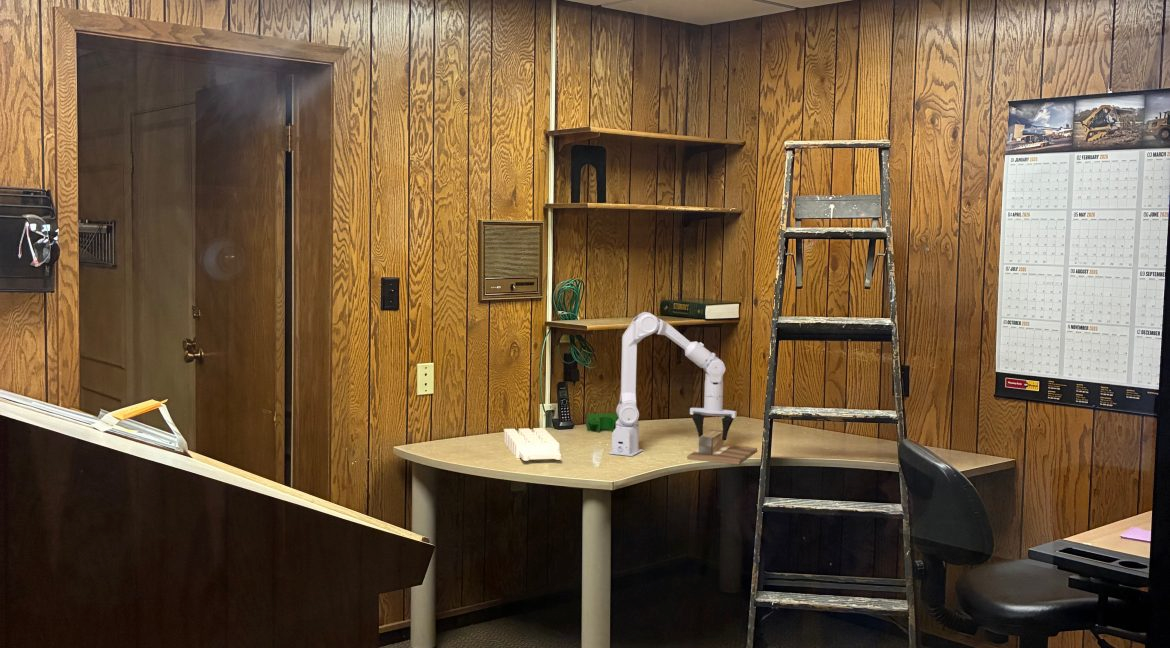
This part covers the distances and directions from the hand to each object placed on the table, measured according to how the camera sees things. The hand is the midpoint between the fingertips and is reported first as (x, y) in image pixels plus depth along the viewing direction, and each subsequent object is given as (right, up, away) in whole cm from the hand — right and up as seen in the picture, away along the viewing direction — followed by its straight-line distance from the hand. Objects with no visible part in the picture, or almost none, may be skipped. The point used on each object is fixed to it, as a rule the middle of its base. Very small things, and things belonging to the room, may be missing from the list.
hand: (712, 438), depth 319 cm
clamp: (-33, -2, +35) cm, 48 cm away
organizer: (-56, -4, -3) cm, 56 cm away
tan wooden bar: (0, -3, 0) cm, 3 cm away
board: (+3, -5, -3) cm, 6 cm away
